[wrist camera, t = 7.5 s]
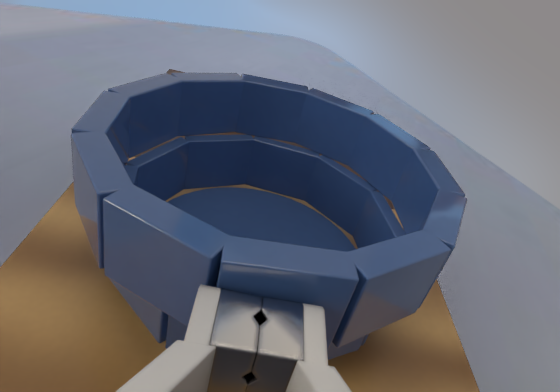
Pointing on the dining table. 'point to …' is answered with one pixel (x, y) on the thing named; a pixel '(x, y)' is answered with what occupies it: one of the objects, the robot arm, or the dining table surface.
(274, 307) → the robot arm
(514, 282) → the dining table surface
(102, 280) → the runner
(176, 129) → the bowl
